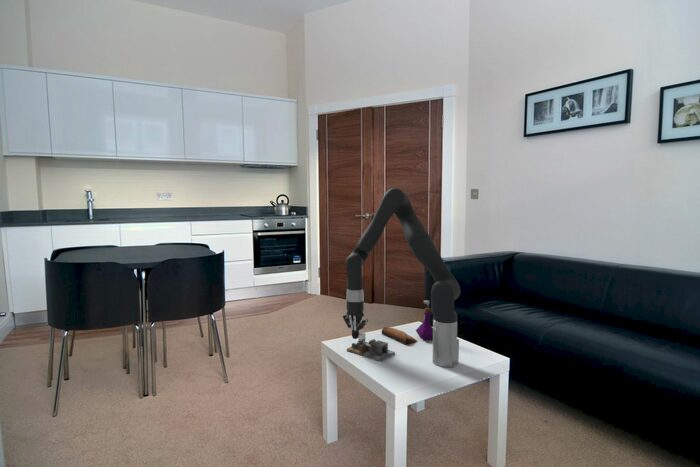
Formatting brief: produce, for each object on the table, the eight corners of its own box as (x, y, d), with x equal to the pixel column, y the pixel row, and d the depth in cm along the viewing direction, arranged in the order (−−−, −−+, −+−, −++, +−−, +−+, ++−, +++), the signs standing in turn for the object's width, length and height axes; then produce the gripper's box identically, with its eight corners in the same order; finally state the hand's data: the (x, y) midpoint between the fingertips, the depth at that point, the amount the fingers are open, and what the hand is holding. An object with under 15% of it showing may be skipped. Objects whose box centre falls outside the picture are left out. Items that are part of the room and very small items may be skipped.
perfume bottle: (437, 340, 180) (437, 302, 179) (422, 342, 178) (422, 303, 177) (429, 335, 188) (430, 298, 186) (415, 336, 186) (415, 299, 184)
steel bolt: (375, 349, 166) (375, 335, 166) (371, 351, 164) (371, 337, 164) (360, 345, 171) (360, 332, 171) (356, 347, 169) (356, 333, 169)
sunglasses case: (419, 341, 179) (414, 330, 177) (409, 351, 176) (404, 340, 174) (394, 330, 194) (389, 320, 192) (384, 340, 191) (379, 330, 189)
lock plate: (394, 354, 164) (395, 342, 164) (381, 361, 157) (381, 349, 156) (360, 344, 176) (360, 333, 175) (346, 351, 168) (346, 339, 168)
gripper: (372, 299, 169) (372, 339, 170) (348, 295, 177) (349, 333, 178) (361, 303, 163) (362, 344, 164) (337, 298, 171) (338, 337, 172)
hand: (355, 338), depth 171 cm, fingers closed
